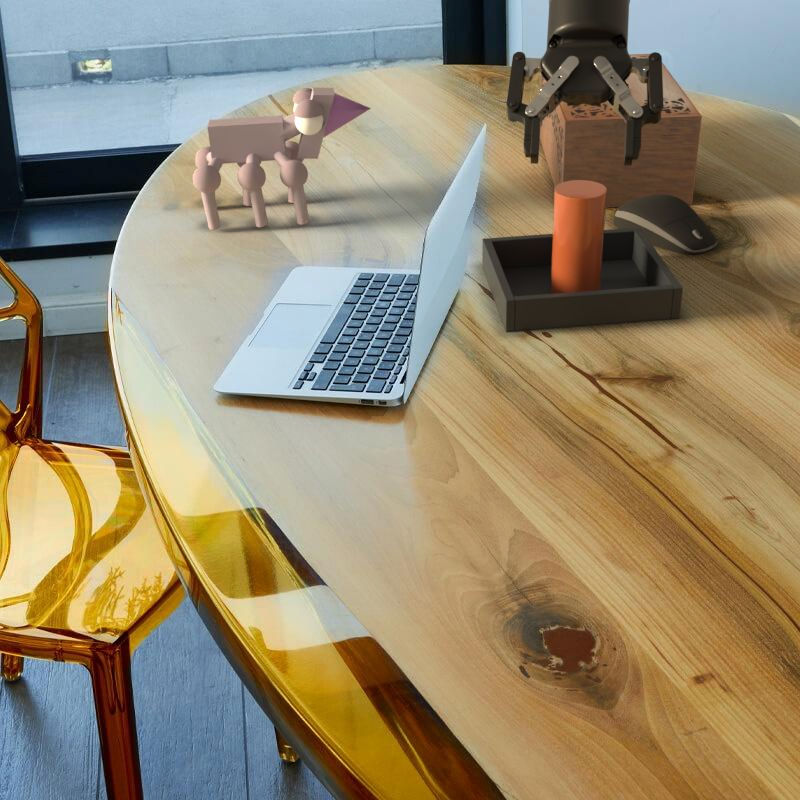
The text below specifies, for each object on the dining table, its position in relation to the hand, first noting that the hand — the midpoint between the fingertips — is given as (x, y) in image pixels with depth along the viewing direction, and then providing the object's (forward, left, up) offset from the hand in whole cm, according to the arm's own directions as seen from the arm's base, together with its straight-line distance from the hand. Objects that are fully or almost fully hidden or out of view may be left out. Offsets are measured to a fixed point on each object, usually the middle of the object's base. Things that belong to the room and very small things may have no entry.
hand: (581, 161), depth 99 cm
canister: (+1, +4, -11) cm, 12 cm away
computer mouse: (-11, -8, -12) cm, 18 cm away
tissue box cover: (-11, -29, -12) cm, 34 cm away
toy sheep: (+28, -22, -12) cm, 37 cm away
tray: (+1, +4, -12) cm, 13 cm away
